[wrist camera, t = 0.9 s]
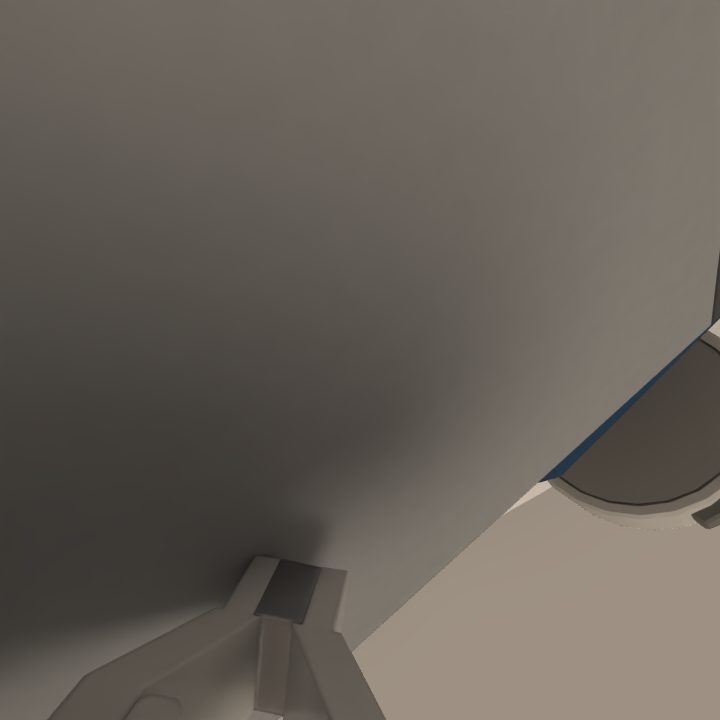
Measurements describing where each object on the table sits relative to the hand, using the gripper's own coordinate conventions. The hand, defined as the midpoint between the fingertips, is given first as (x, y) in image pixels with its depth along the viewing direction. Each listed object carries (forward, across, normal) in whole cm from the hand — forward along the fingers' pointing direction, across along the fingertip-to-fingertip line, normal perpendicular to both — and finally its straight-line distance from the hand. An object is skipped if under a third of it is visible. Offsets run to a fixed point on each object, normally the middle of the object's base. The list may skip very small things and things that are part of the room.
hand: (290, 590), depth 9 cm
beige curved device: (+38, +14, 0) cm, 40 cm away
